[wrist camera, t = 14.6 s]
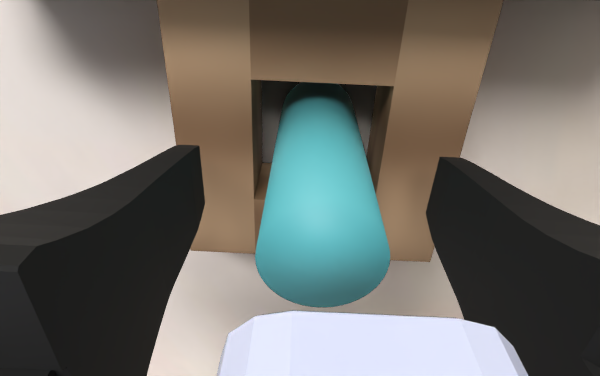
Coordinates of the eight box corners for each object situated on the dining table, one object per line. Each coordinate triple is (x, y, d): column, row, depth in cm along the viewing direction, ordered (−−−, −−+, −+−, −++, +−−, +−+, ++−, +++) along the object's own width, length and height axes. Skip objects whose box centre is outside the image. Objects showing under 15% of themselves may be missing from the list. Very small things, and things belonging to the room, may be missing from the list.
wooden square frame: (414, 219, 19) (429, 261, 16) (207, 209, 19) (190, 250, 16) (469, -13, 14) (504, -3, 11) (183, -26, 14) (153, -20, 11)
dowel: (349, 148, 17) (379, 310, 10) (281, 145, 17) (256, 304, 10) (357, 80, 16) (400, 208, 8) (282, 76, 16) (253, 201, 8)
